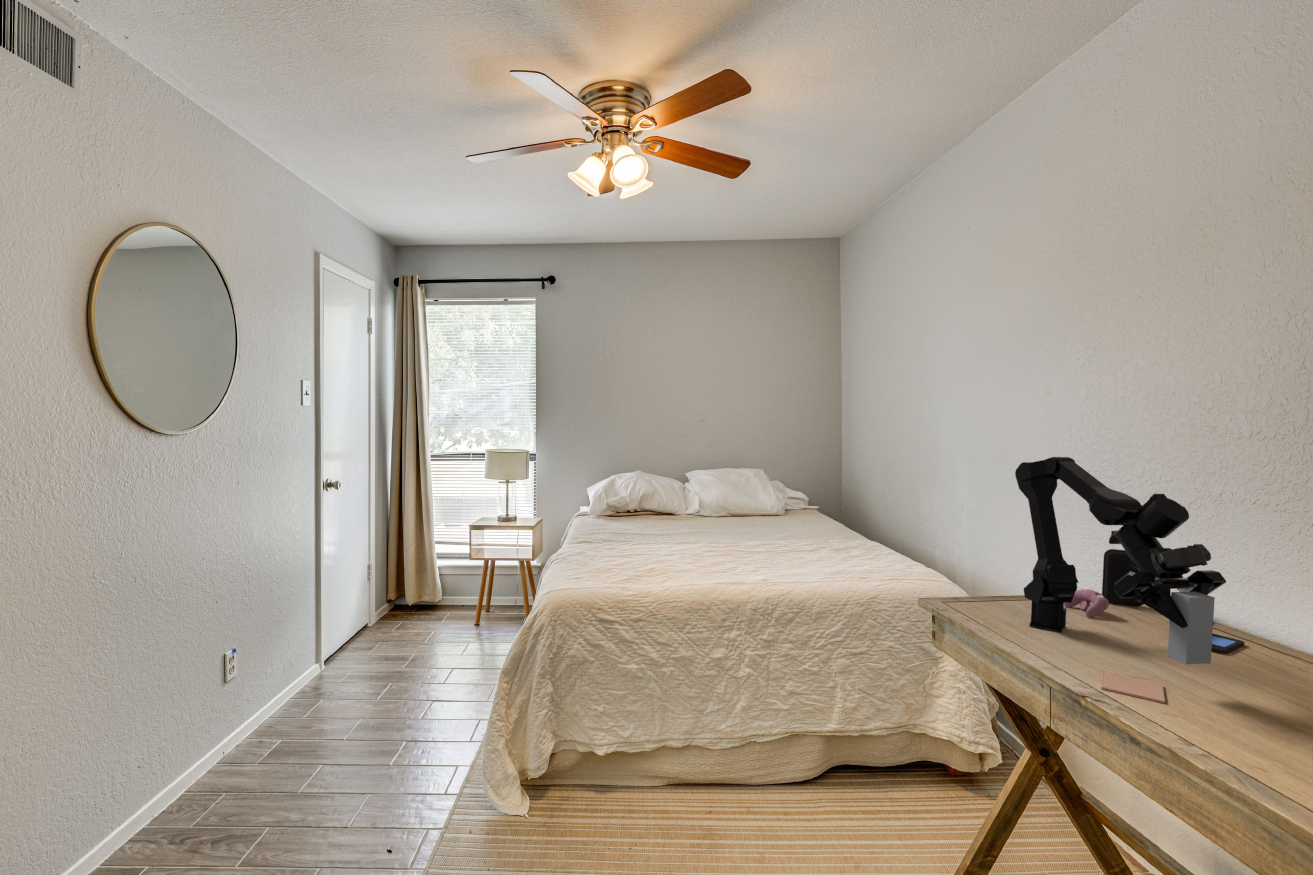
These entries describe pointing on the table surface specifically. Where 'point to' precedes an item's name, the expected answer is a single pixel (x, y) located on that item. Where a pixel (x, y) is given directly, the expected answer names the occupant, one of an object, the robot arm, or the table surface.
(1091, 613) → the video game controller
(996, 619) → the table surface
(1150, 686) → the terracotta pad
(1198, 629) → the grey rectangular pillar
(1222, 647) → the handheld game console
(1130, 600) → the carrying case or bag
